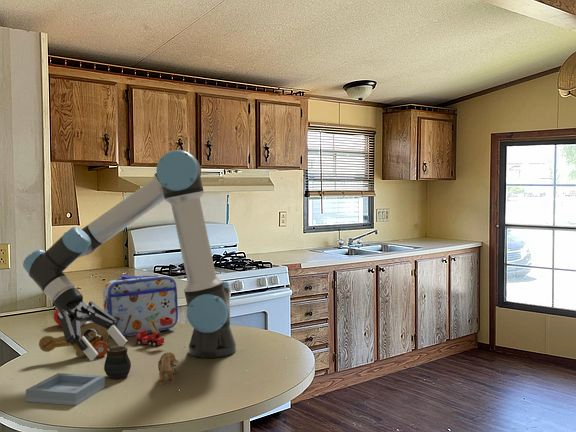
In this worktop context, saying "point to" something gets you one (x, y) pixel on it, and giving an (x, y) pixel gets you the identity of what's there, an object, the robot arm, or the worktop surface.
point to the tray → (65, 389)
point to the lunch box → (140, 302)
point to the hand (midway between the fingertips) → (110, 350)
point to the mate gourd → (117, 362)
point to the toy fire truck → (154, 337)
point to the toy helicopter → (98, 344)
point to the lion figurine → (167, 366)
